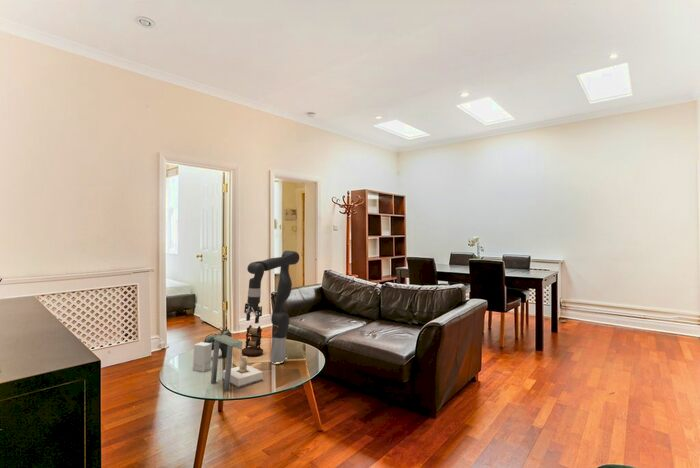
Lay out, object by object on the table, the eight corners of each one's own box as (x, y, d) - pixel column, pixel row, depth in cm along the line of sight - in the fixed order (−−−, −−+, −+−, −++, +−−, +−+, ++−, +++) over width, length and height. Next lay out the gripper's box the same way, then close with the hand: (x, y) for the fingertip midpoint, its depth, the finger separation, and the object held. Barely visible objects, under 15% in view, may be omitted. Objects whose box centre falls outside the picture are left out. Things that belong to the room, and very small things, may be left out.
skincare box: (210, 368, 211) (213, 343, 211) (203, 372, 204) (205, 346, 205) (199, 366, 213) (201, 341, 213) (191, 370, 206) (194, 344, 207)
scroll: (266, 352, 250) (268, 324, 251) (257, 358, 236) (260, 329, 237) (246, 349, 253) (249, 322, 253) (237, 355, 238) (240, 326, 239)
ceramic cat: (226, 354, 240) (229, 325, 240) (231, 356, 235) (234, 327, 236) (198, 359, 224) (201, 329, 225) (203, 362, 220) (206, 331, 221)
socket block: (245, 372, 209) (246, 364, 209) (262, 380, 199) (262, 371, 199) (221, 379, 196) (222, 370, 196) (237, 388, 186) (238, 378, 186)
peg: (243, 376, 200) (244, 355, 201) (247, 378, 198) (249, 357, 198) (237, 378, 197) (238, 357, 198) (241, 380, 195) (243, 358, 195)
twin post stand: (221, 379, 196) (225, 334, 197) (238, 388, 186) (242, 341, 187) (209, 382, 191) (213, 336, 192) (226, 392, 180) (231, 343, 181)
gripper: (266, 296, 209) (264, 323, 209) (252, 293, 218) (250, 318, 217) (256, 297, 203) (254, 325, 203) (242, 294, 212) (240, 320, 211)
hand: (252, 321), depth 210 cm, fingers open, 8 cm apart
